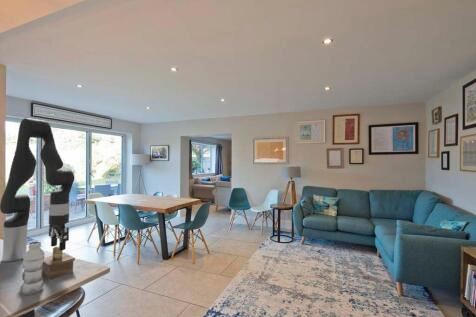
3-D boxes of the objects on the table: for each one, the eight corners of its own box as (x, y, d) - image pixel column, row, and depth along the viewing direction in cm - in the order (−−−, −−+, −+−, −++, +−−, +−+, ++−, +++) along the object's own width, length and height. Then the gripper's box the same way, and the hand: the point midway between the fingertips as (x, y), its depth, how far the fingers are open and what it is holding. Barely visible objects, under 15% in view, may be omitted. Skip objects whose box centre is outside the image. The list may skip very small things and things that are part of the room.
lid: (39, 263, 108) (40, 248, 108) (63, 256, 117) (64, 242, 117) (49, 270, 103) (50, 253, 103) (74, 262, 111) (75, 247, 111)
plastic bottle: (30, 298, 90) (33, 246, 90) (16, 296, 92) (19, 244, 92) (47, 289, 97) (49, 241, 97) (34, 287, 98) (36, 239, 98)
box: (40, 274, 108) (40, 261, 108) (62, 267, 116) (63, 255, 116) (49, 281, 103) (50, 267, 103) (72, 273, 111) (73, 260, 111)
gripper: (42, 212, 110) (41, 247, 110) (56, 216, 103) (55, 254, 103) (61, 209, 117) (60, 242, 116) (75, 213, 109) (74, 248, 109)
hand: (58, 248), depth 110 cm, fingers open, 8 cm apart
